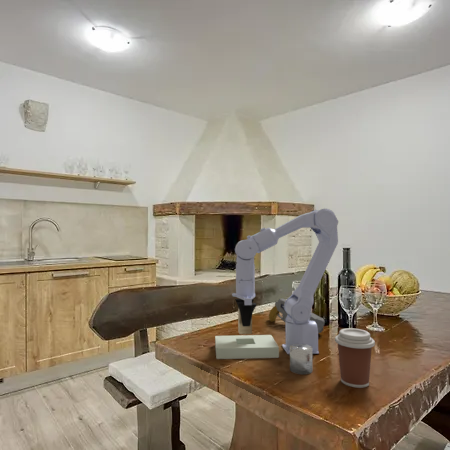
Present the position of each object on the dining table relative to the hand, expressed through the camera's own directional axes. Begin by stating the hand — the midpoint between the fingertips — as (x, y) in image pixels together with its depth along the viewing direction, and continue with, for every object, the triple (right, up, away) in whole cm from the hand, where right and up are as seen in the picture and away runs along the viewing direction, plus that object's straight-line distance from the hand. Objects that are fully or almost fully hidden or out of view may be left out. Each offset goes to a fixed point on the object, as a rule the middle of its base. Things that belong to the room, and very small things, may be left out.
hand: (245, 324), depth 107 cm
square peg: (0, -2, 0) cm, 2 cm away
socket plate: (0, -8, 0) cm, 8 cm away
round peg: (+14, -8, -14) cm, 21 cm away
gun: (+20, -9, +26) cm, 34 cm away
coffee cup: (+25, -8, -22) cm, 34 cm away
